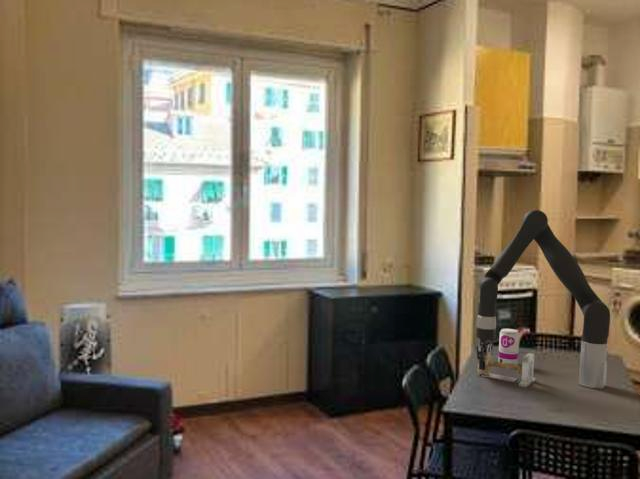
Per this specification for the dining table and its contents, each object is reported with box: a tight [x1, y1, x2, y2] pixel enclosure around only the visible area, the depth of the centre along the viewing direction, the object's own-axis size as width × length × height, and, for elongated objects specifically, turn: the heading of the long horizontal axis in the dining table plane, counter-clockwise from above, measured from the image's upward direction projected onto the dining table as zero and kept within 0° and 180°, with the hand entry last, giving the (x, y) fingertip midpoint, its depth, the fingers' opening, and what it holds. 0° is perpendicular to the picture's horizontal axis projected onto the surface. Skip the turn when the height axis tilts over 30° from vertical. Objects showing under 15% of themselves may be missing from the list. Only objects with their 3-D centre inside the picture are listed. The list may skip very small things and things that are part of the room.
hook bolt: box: [476, 351, 522, 378], centre depth 256 cm, size 17×4×9 cm, turn 56°
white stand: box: [481, 352, 536, 388], centre depth 255 cm, size 19×12×11 cm, turn 56°
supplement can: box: [497, 328, 520, 365], centre depth 278 cm, size 8×8×15 cm
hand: (483, 368), depth 260 cm, fingers closed on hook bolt, 4 cm apart
